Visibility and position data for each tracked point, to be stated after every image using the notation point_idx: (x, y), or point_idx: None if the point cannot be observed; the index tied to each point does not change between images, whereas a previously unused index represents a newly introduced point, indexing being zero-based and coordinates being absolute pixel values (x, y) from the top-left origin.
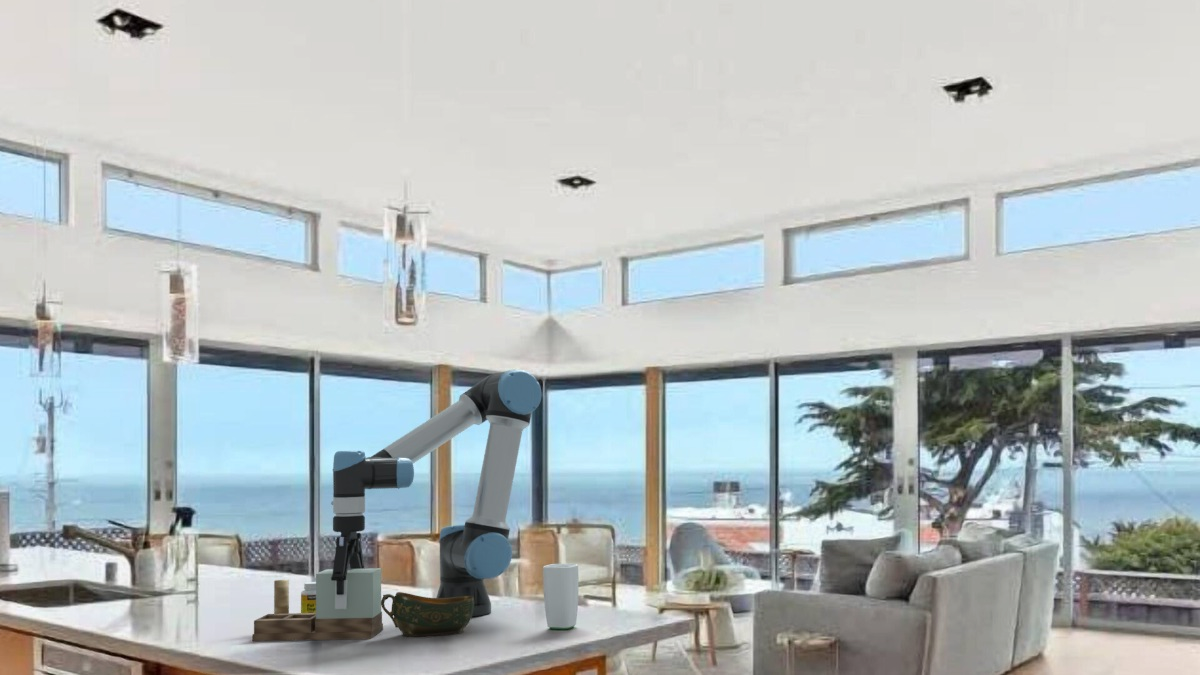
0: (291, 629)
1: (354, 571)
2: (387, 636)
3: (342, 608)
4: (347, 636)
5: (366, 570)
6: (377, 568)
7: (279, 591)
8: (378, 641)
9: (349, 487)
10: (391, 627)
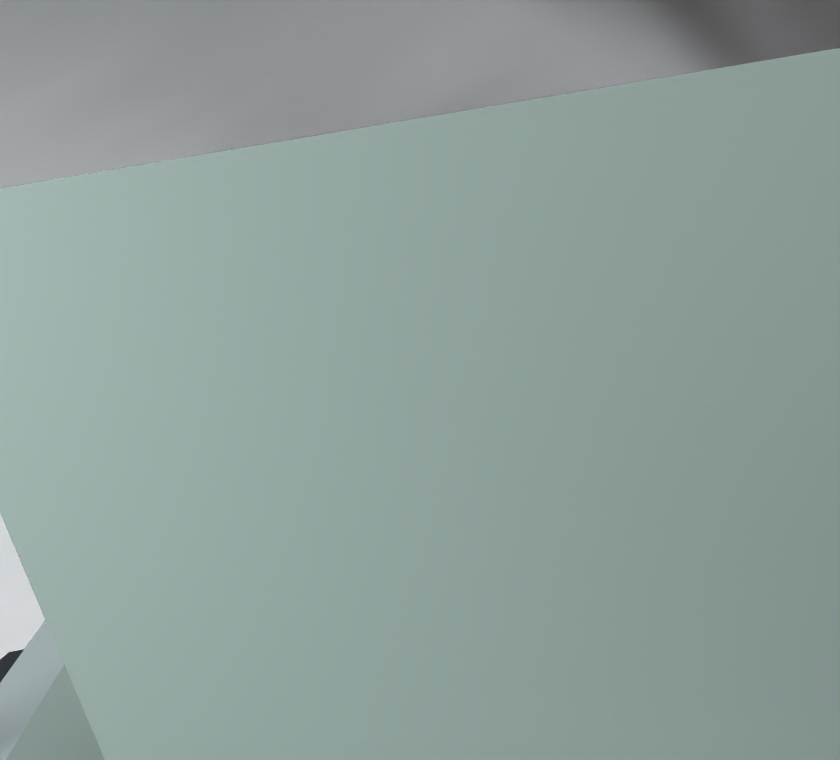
0: None
1: (814, 693)
2: (503, 24)
3: None
4: None
5: (620, 468)
6: (5, 325)
7: None
8: (721, 16)
9: None
10: (66, 169)
